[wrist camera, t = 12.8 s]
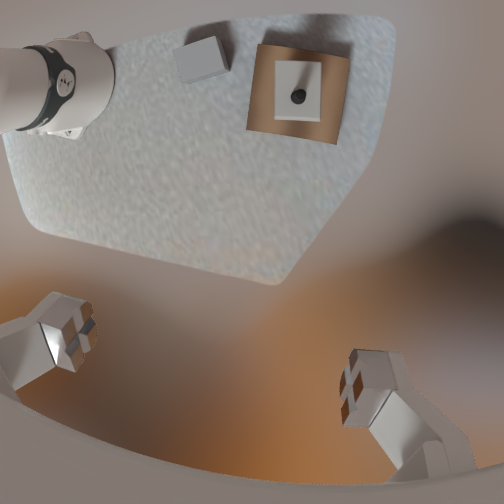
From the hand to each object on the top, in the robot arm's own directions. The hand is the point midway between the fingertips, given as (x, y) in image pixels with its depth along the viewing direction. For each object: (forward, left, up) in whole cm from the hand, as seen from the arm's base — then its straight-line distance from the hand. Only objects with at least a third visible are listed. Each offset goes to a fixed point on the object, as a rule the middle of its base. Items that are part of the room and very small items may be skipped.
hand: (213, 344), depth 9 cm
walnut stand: (+2, +9, -39) cm, 40 cm away
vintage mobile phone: (+1, +8, -36) cm, 37 cm away
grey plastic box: (-12, +12, -39) cm, 43 cm away
